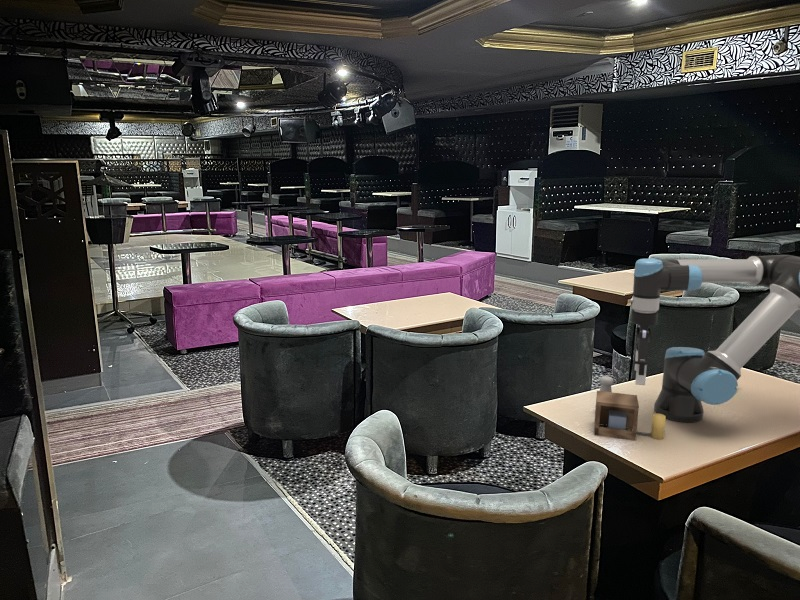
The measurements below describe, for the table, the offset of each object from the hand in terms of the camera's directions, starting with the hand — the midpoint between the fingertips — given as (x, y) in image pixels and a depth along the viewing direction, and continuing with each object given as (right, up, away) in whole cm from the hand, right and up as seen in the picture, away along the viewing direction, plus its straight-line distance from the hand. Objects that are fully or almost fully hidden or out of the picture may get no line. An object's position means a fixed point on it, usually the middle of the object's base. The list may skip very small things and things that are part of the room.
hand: (639, 377), depth 183 cm
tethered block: (0, -18, +2) cm, 18 cm away
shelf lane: (-6, -18, +4) cm, 19 cm away
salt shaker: (-5, -15, +18) cm, 24 cm away
